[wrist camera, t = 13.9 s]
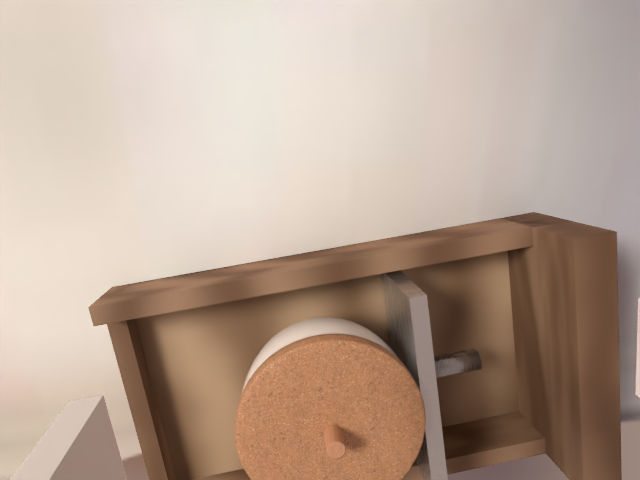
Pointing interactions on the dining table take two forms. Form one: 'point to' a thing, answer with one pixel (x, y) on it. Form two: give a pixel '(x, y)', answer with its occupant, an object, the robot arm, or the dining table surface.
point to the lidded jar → (328, 407)
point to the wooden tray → (370, 311)
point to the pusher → (422, 362)
